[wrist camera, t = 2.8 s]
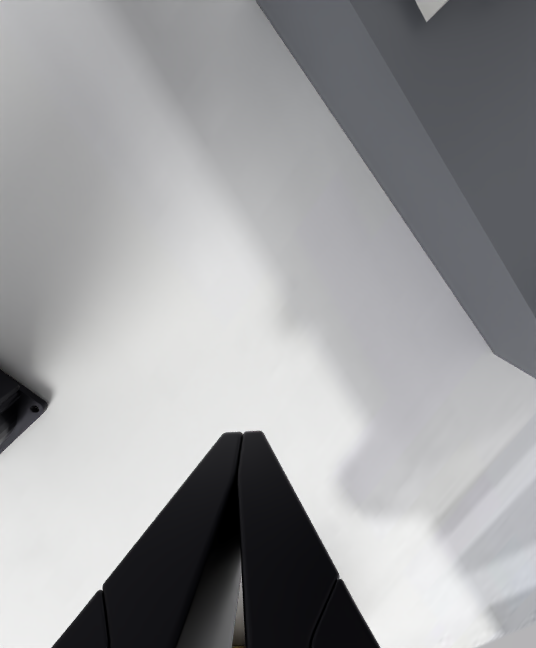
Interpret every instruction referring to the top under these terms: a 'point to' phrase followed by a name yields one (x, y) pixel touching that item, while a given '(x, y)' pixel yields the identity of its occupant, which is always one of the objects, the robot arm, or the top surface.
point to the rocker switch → (430, 7)
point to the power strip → (441, 136)
